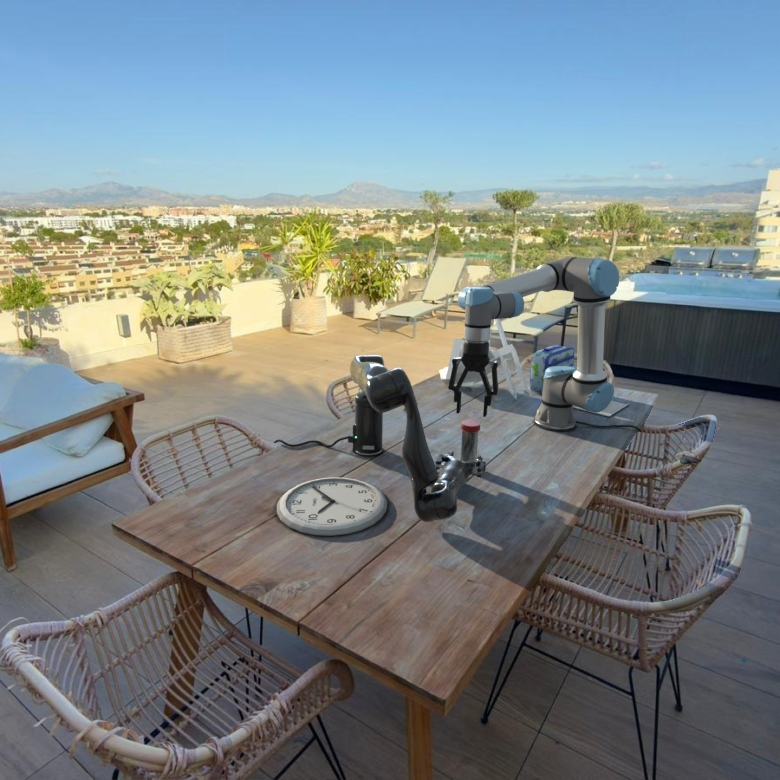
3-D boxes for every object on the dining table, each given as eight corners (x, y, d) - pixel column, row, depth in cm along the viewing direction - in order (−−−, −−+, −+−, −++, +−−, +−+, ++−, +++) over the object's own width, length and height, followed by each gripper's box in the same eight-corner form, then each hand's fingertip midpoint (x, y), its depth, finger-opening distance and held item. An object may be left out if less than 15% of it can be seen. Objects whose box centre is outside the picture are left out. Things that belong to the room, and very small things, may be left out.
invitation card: (608, 416, 214) (573, 407, 224) (608, 416, 214) (573, 408, 224) (628, 404, 229) (594, 396, 238) (628, 405, 229) (594, 397, 238)
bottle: (456, 468, 166) (459, 424, 162) (466, 463, 170) (469, 420, 165) (469, 473, 163) (472, 428, 158) (478, 468, 166) (482, 424, 162)
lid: (457, 428, 162) (457, 422, 162) (469, 424, 166) (469, 418, 165) (472, 433, 158) (472, 427, 158) (483, 429, 162) (484, 423, 162)
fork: (400, 411, 216) (400, 406, 215) (412, 399, 230) (412, 395, 230) (406, 412, 215) (406, 407, 215) (418, 400, 230) (418, 396, 229)
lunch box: (546, 398, 236) (551, 353, 229) (525, 393, 243) (529, 349, 237) (573, 387, 253) (579, 344, 247) (553, 382, 260) (558, 341, 254)
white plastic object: (461, 429, 252) (437, 405, 227) (444, 352, 274) (420, 323, 250) (535, 404, 240) (518, 377, 215) (510, 326, 262) (492, 293, 237)
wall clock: (392, 527, 129) (268, 531, 127) (391, 533, 130) (269, 537, 127) (383, 473, 158) (282, 475, 155) (383, 478, 158) (282, 480, 156)
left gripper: (478, 470, 143) (489, 448, 157) (428, 461, 147) (444, 440, 162) (476, 495, 145) (488, 470, 159) (427, 485, 150) (443, 462, 164)
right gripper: (513, 341, 154) (506, 414, 161) (445, 335, 160) (442, 405, 167) (510, 346, 147) (503, 422, 154) (439, 340, 154) (436, 413, 160)
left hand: (465, 455), depth 161 cm, fingers open, 8 cm apart
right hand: (471, 413), depth 161 cm, fingers open, 7 cm apart
